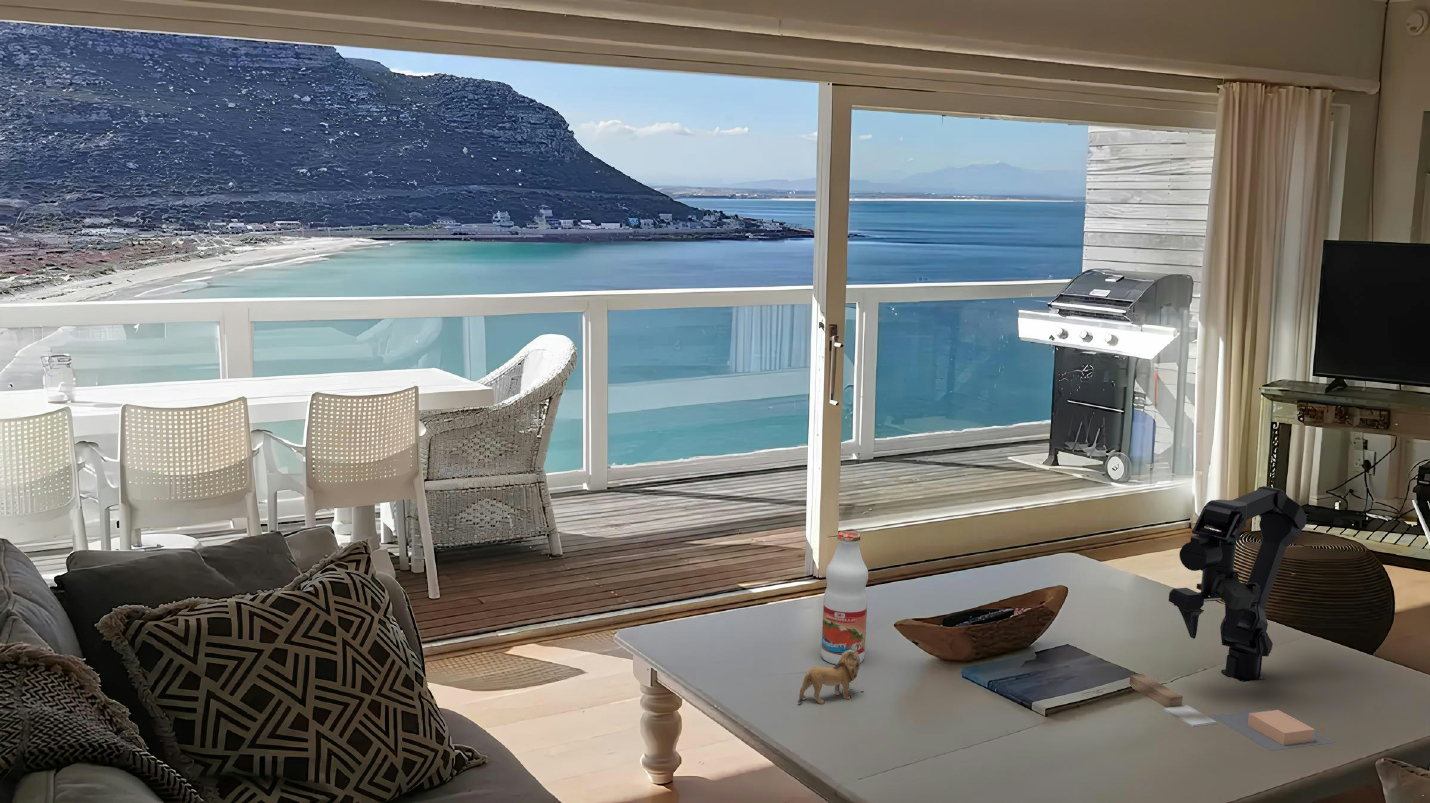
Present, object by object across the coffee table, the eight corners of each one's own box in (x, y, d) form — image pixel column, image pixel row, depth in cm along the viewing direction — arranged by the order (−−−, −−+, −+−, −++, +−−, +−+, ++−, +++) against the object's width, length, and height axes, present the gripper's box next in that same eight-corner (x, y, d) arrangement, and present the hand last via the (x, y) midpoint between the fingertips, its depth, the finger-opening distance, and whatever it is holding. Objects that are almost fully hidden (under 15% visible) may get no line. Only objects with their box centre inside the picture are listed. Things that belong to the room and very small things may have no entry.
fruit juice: (870, 655, 253) (877, 532, 249) (855, 669, 245) (862, 541, 241) (830, 647, 258) (836, 525, 253) (814, 660, 249) (820, 535, 245)
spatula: (1123, 689, 240) (1125, 675, 239) (1145, 686, 241) (1147, 673, 241) (1192, 729, 221) (1193, 714, 220) (1215, 726, 223) (1217, 711, 222)
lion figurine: (848, 686, 236) (850, 644, 235) (865, 695, 232) (867, 653, 230) (790, 700, 228) (792, 657, 227) (806, 710, 224) (808, 666, 222)
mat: (1270, 710, 231) (1271, 707, 231) (1335, 744, 216) (1335, 742, 216) (1209, 717, 227) (1209, 714, 227) (1270, 753, 212) (1270, 750, 211)
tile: (1278, 709, 224) (1314, 729, 216) (1276, 721, 224) (1313, 741, 216) (1248, 713, 222) (1284, 733, 213) (1247, 725, 222) (1283, 745, 214)
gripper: (1208, 577, 225) (1201, 653, 227) (1285, 571, 231) (1277, 646, 233) (1170, 561, 235) (1163, 634, 238) (1244, 556, 241) (1237, 627, 243)
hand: (1211, 636), depth 238 cm, fingers open, 9 cm apart
